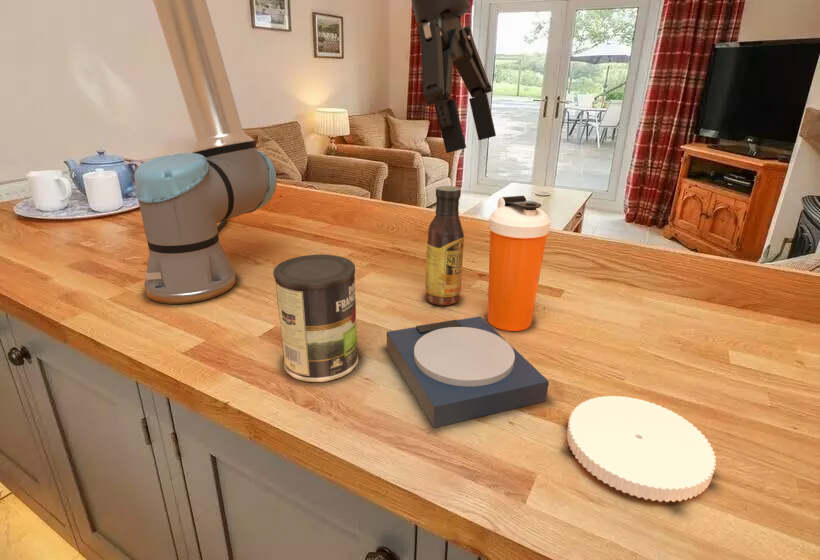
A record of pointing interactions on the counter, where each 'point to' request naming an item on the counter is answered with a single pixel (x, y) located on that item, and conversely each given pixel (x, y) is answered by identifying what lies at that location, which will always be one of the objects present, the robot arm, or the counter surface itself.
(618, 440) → the plastic lid
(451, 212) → the sauce bottle
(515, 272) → the shaker bottle
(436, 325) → the kitchen scale
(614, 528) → the counter surface
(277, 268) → the coffee can
